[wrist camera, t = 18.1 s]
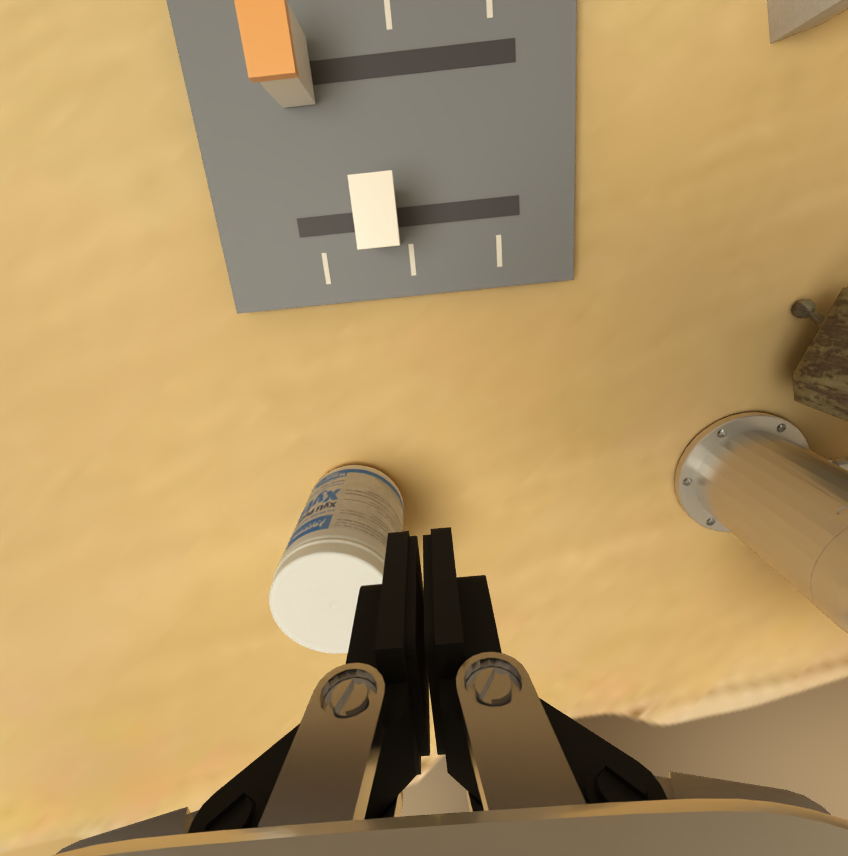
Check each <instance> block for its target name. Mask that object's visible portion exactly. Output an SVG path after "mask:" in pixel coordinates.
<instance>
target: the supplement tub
mask: <svg viewBox="0 0 848 856" xmlns="http://www.w3.org/2000/svg"><path fill="white" fill-rule="evenodd" d="M403 521H404V503H403V498H402V495H401V493H400V491H399V489H398V487H397V486H396V484H395V483H394V482H393V481H392V480H391V479H390V478H389V477H388V476H387V475H385V474H384V473H382V472H381V471H379V470H376V469H374V468H371V467H368V466H362V465H347V466H342V467H339V468H336V469H334V470H332V471H330V472H328V473H327V474H326V475H324V476H323V477H322V478H321V479H320V480H319V481H318V482H317V484H316V485H315V486H314V488H313V491H312V493H311V495H310V497H309V499H308V501H307V503H306V506H305V508H304V510H303V512H302V514H301V517H300V519H299V521H298V523H297V525H296V528H295V530H294V532H293V534H292V536H291V538H290V541H289V543H288V545H287V547H286V549H285V551H284V554H283V556H282V558H281V560H280V563H279V565H278V567H277V570H276V572H275V575H274V579H273V583H272V586H271V590H270V596H269V603H270V609H271V612H272V615H273V618H274V620H275V621H276V623H277V625H278V626H279V627H280V629H281V630H282V631H283V632H284V633H285V634H286V635H287V636H288V637H289V638H291V639H292V640H293V641H295V642H297V643H298V644H300V645H302V646H304V647H306V648H309V649H312V650H315V651H319V652H324V653H348V649H349V644H350V638H351V633H352V627H353V622H354V616H355V611H356V605H357V600H358V594H359V590H360V587H361V586H363V585H375V584H382V579H383V570H384V562H385V553H386V545H387V536H388V533H392V532H403Z"/></svg>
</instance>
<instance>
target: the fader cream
mask: <svg viewBox="0 0 848 856" xmlns="http://www.w3.org/2000/svg"><path fill="white" fill-rule="evenodd" d="M347 176H348V183H349V191H350V198H351V205H352V213H353V220H354V228H355V235H356V242H357V250H362V249H371V248H381V247H391V246H400V236H399V226H398V217H397V207H396V198H395V189H394V182H393V172H392V170H388V171H379V172H370V173H360V174H351V175H347Z"/></svg>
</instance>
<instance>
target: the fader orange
mask: <svg viewBox="0 0 848 856" xmlns="http://www.w3.org/2000/svg"><path fill="white" fill-rule="evenodd" d="M234 2H235V8H236V13H237V19H238V24H239V29H240V35H241V40H242V45H243V51H244V56H245V61H246V67H247V72H248V77H249V79H250V80H251V81H252V82H253V83H254V82H260V84H261V85H262V86H263V87H264V88H265V89H266V90H267V91H268V92H269V93H270V94H271V96H272V97H273V98H274V99H275V100H276V101H277V102H278V103H279V104H280V105H281V106H282V108H286V107H295V106H304V105H313V104H316V103H315V96H314V90H313V83H312V76H311V69H310V63H309V56H308V49H307V43H306V37H305V35H304V33H303V31H302V29H301V27H300V25H299V23H298V21H297V19H296V17H295V15H294V13H293V12H292V10H291V8H290V6H289V4H288V2H287V0H234Z"/></svg>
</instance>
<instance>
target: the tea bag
mask: <svg viewBox="0 0 848 856" xmlns="http://www.w3.org/2000/svg"><path fill="white" fill-rule="evenodd" d="M767 8H768V21H769V34H770V44H771V43H773V42H776V41H778V40H781V39H784V38H786V37H789V36H792V35H794V34H797V33H799V32H802V31H805V30H807V29H810V28H812V27H815V26H818V25H820V24H822V23H824V22H826V21H828V20H829V19H831V18H833V17H834V16H836V15H838V14H840V13H841V12H843V11H845V10H846V9H848V0H767Z"/></svg>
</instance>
